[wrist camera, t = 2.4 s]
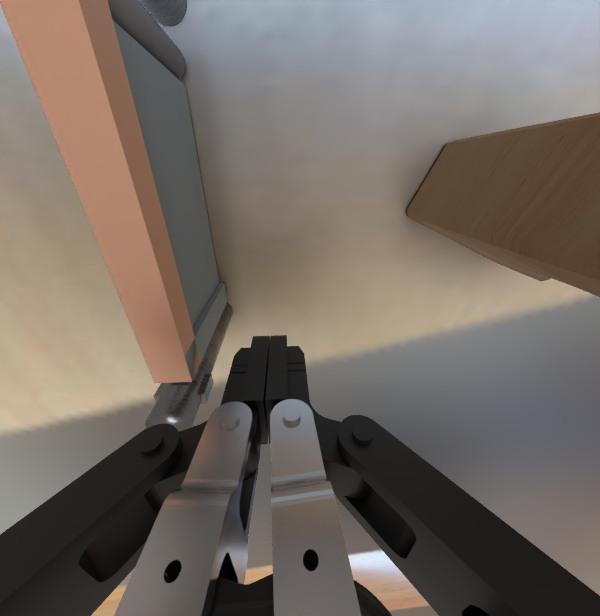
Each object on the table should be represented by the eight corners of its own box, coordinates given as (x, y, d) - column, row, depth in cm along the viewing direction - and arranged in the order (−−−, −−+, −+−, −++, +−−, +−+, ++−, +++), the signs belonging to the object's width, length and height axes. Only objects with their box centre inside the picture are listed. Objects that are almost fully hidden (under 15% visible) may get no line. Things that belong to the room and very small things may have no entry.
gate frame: (129, -43, 12) (-702, -1216, 2) (185, -40, 13) (-308, -1114, 2) (208, 321, 23) (147, 441, 13) (237, 320, 23) (200, 438, 13)
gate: (148, 41, 13) (-74, -176, 5) (185, 42, 13) (28, -168, 5) (204, 302, 21) (154, 383, 13) (227, 301, 21) (192, 381, 13)
